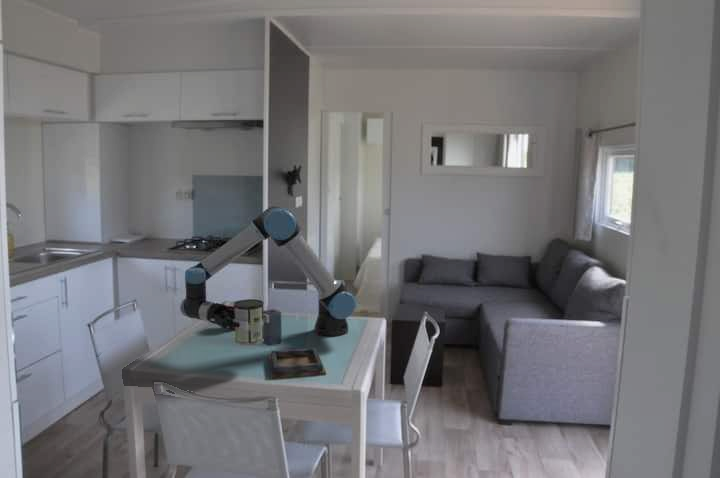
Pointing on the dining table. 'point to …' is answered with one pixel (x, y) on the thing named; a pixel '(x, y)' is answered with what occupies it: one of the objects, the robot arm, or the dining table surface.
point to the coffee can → (249, 321)
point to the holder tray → (295, 363)
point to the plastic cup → (231, 307)
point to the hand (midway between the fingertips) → (258, 322)
